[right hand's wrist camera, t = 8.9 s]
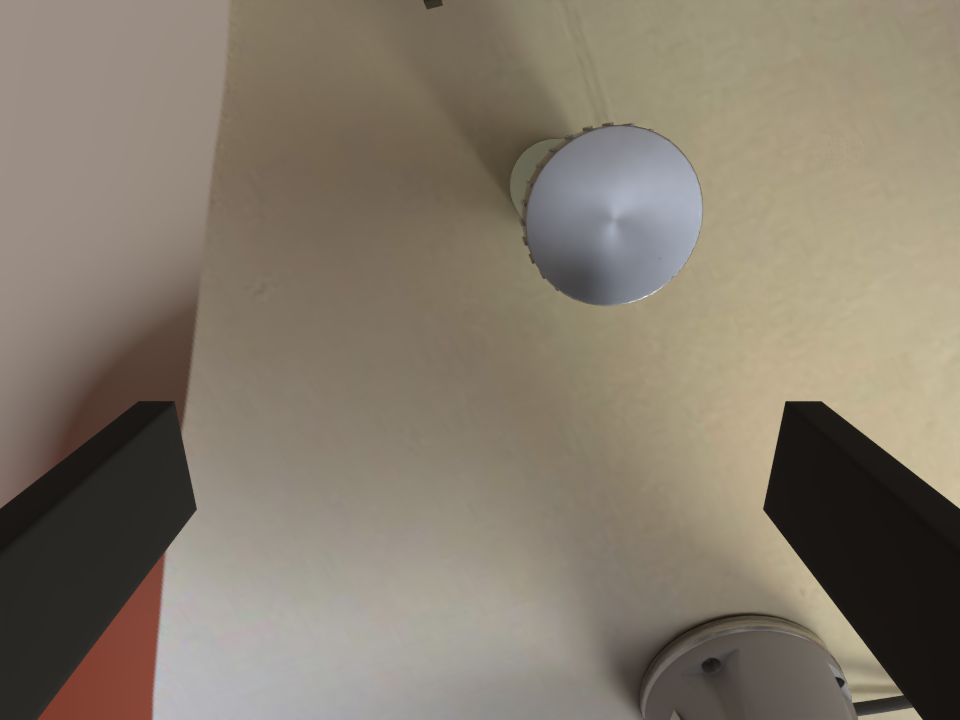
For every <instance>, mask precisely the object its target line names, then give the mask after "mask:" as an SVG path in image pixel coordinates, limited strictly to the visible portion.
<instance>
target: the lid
mask: <svg viewBox="0 0 960 720" xmlns="http://www.w3.org/2000/svg"><path fill="white" fill-rule="evenodd" d="M653 131H654V130H652V129H645V128H641V127H637V126H634V124H632V123H630V124H623V125H613V123H606V124H602V127H597V128H593V127H592V126H591V127H585V128H583V131H582V132H579V133H576V134H575V135H567V136H565V137H564V138H565V140H564V141H562V142H561V143H559V144H558V145H557V146H555V147H554V148H552V147H550V148H549V149H548V150H549V153H548V154H547V155H546V156H545V157H544V158H543V160H542V161H541V162H540V163H536V165H535V166H536V167H537V168H536V169H535V171H534V173H533V175H532V177H531V179H530V181H528V180H527V181H526V184H527V185H528V186H527V189H526V191H525V196H524V200H523V199H521V204H522V205H523V207H522V218H521V219H519V220H520V224H521V226H522V227H523V232H524V237H522V239H523V242H524V244H525V246H528V249H529V251H530V254H529V257H530V259H531V262H532V263H533V264H534V263H535V264H536V265H537V267H538V269H539V271H540V274H541V276H542V278H543V279H545V278H546V279H547V280H548V282H549V283H551V284H552V285H553V286H554V287H555V289H556V290H557V291H560V292H562V293H563V294H565V295H567V296H569V297H571V298H572V299H574V300H578V301H581V302H583V303H587V304H592V305H601V306H614V305H622V304H627V303H631V302H634V301H637V300H640V299H642V298H644V297H647V296H649V295H651V294H652V293H654V292H656V291H657V290H659V289H660V288H662V287H663V286H664V285H666V284H667V283H668V282H669V281H670V280H671V279H672V278H673V277H674V276H675V275H676V274H677V273H678V272H679V271H680V270H681V268H682V267H683V266H684V265H685V263H686V261H687V260H688V258H689V257H690V255H691V253H692V251H693V249H694V247H695V245H696V242H697V239H698V236H699V233H700V228H701V223H702V214H703V203H702V194H701V188H700V184H699V181H698V178H697V175H696V173H695V171H694V169H693V167H692V165H691V163H690V162H689V161H688V159H687V158H686V156H685V155H684V154H683V153H682V152H681V150H680V149H679V148H678V147H677V146H676V145H674V144H673V143H672V142H671V141H670V140H669V139H667V138H665V137H663V136H661V135H660V134H658V133H656V132H653Z"/></svg>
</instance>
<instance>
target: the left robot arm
mask: <svg viewBox="0 0 960 720" xmlns="http://www.w3.org/2000/svg"><path fill="white" fill-rule="evenodd" d="M424 3H425V6H426V8H427V9H430V8H434V7H438V6H442V5H443V4H442V0H424Z"/></svg>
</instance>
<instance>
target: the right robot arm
mask: <svg viewBox="0 0 960 720" xmlns="http://www.w3.org/2000/svg"><path fill="white" fill-rule="evenodd" d="M196 510H197V508H196V503H195V498H194V494H193V489H192V484H191V479H190V474H189V469H188V465H187V460H186V455H185V450H184V445H183V441H182V436H181V431H180V426H179V421H178V417H177V412H176V407H175V402H174V401H139V402H137V403H136V404H135V405H133V406H132V407H131V408H130V409H128V410H127V411H126V412H124V413H123V414H122V415H120V416H119V417H118V418H117V419H115V420H114V421H113V422H112V423H110V424H109V425H108V426H106V427H105V428H104V429H103V430H101V431H100V432H99V433H97V434H96V435H95V436H93V437H92V438H91V439H90V440H88V441H87V442H86V443H84V444H83V445H82V446H81V447H79V448H78V449H77V450H75V451H74V452H73V453H72V454H70V455H69V456H68V457H66V458H65V459H64V460H63V461H61V462H60V463H59V464H57V465H56V466H55V467H53V468H52V469H51V470H50V471H48V472H47V473H46V474H45V475H43V476H42V477H41V478H39V479H38V480H37V481H35V482H34V483H33V484H32V485H30V486H29V487H28V488H26V489H25V490H24V491H23V492H21V493H20V494H19V495H17V496H16V497H15V498H14V499H12V500H11V501H10V502H8V503H7V504H6V505H5V506H3V507H2V508H1V509H0V720H37V719H38V718H39V717H40V715H41V714H42V713H43V711H44V710H45V709H46V707H47V706H48V705H49V703H50V702H51V701H52V699H53V698H54V697H55V695H56V694H57V693H58V692H59V690H60V689H61V687H62V686H63V685H64V684H65V682H66V681H67V680H68V678H69V677H70V676H71V674H72V673H73V672H74V670H75V669H76V668H77V666H78V665H79V664H80V662H81V661H82V660H83V659H84V657H85V656H86V655H87V653H88V652H89V651H90V649H91V648H92V647H93V645H94V644H95V643H96V641H97V640H98V639H99V637H100V636H101V635H102V634H103V632H104V631H105V630H106V628H107V627H108V626H109V624H110V623H111V622H112V620H113V619H114V618H115V616H116V615H117V614H118V612H119V611H120V610H121V608H122V607H123V606H124V605H125V603H126V602H127V601H128V599H129V598H130V597H131V595H132V594H133V593H134V591H135V590H136V589H137V587H138V586H139V585H140V584H141V582H142V581H143V580H144V578H145V577H146V576H147V574H148V573H149V572H150V570H151V569H152V568H153V566H154V565H155V564H156V562H157V561H158V560H159V558H160V557H161V556H162V555H163V553H164V552H165V551H166V549H167V548H168V547H169V545H170V544H171V543H172V541H173V540H174V539H175V537H176V536H177V535H178V533H179V532H180V531H181V530H182V528H183V527H184V526H185V524H186V523H187V522H188V520H189V519H190V518H191V516H192V515H193V514H194V512H195V511H196ZM763 510H764V511H765V512H766V514H767V515H768V516H769V518H770V519H771V520H772V522H773V523H774V524H775V526H776V527H777V528H778V530H779V531H780V532H781V533H782V535H783V536H784V537H785V539H786V540H787V541H788V543H789V544H790V545H791V547H792V548H793V549H794V551H795V552H796V553H797V555H798V556H799V557H800V559H801V560H802V561H803V562H804V564H805V565H806V566H807V568H808V569H809V570H810V572H811V573H812V574H813V576H814V577H815V578H816V580H817V581H818V582H819V584H820V585H821V586H822V587H823V589H824V590H825V591H826V593H827V594H828V595H829V597H830V598H831V599H832V601H833V602H834V603H835V605H836V606H837V607H838V609H839V610H840V611H841V613H842V614H843V615H844V616H845V618H846V619H847V620H848V622H849V623H850V624H851V626H852V627H853V628H854V630H855V631H856V632H857V634H858V635H859V636H860V638H861V639H862V640H863V641H864V643H865V644H866V645H867V647H868V648H869V649H870V651H871V652H872V653H873V655H874V656H875V657H876V659H877V660H878V661H879V663H880V664H881V665H882V667H883V668H884V669H885V670H886V672H887V673H888V674H889V676H890V677H891V678H892V680H893V681H894V682H895V684H896V685H897V686H898V688H899V689H900V690H901V692H902V693H903V694H904V695H903V696H897V697H890V698H884V699H877V700H871V701H864V702H857V703H852V698H851V693H850V690H849V686H848V683H847V681H846V679H845V677H844V674H843V672H842V670H841V668H840V666H839V664H838V663H837V661H836V660H835V659H834V657H833V656H832V654H831V653H830V651H829V650H828V648H827V647H826V646H825V644H824V643H823V642H822V641H821V640H820V639H819V638H818V637H817V636H816V635H815V634H813V633H812V632H810V631H809V630H807V629H806V628H804V627H802V626H800V625H798V624H795V623H793V622H790V621H787V620H784V619H780V618H775V617H768V616H753V615H752V616H737V617H730V618H724V619H720V620H716V621H712V622H709V623H707V624H704V625H701V626H699V627H696V628H694V629H692V630H690V631H688V632H686V633H684V634H683V635H681V636H680V637H678V638H677V639H675V640H674V641H672V642H671V643H670V644H669V645H667V646H666V647H665V648H664V649H663V650H662V651H661V652H660V653H659V654H658V655H657V656H656V658H655V659H654V660H653V661H652V663H651V664H650V666H649V668H648V669H647V671H646V673H645V675H644V677H643V681H642V684H641V688H640V698H639V699H640V708H641V712H642V716H643V719H644V720H858V718H857V716H862V715H869V714H876V713H883V712H889V711H895V710H901V709H907V708H913V707H914V709H915V710H916V711H917V713H918V714H919V715H920V717H921V718H922V719H923V720H960V509H959V508H958V507H957V506H955V505H954V504H953V503H952V502H950V501H949V500H948V499H946V498H945V497H944V496H943V495H941V494H940V493H939V492H937V491H936V490H935V489H934V488H932V487H931V486H930V485H928V484H927V483H926V482H925V481H923V480H922V479H921V478H919V477H918V476H917V475H916V474H914V473H913V472H912V471H910V470H909V469H908V468H907V467H905V466H904V465H903V464H901V463H900V462H899V461H897V460H896V459H895V458H894V457H892V456H891V455H890V454H888V453H887V452H886V451H885V450H883V449H882V448H881V447H879V446H878V445H877V444H876V443H874V442H873V441H872V440H870V439H869V438H868V437H867V436H865V435H864V434H863V433H861V432H860V431H859V430H858V429H856V428H855V427H854V426H852V425H851V424H850V423H849V422H847V421H846V420H845V419H843V418H842V417H841V416H840V415H838V414H837V413H836V412H834V411H833V410H832V409H831V408H829V407H828V406H827V405H825V404H824V403H823V402H821V401H786V402H785V407H784V412H783V417H782V421H781V426H780V431H779V436H778V441H777V445H776V450H775V455H774V460H773V465H772V469H771V474H770V479H769V484H768V489H767V494H766V498H765V503H764V508H763Z"/></svg>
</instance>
